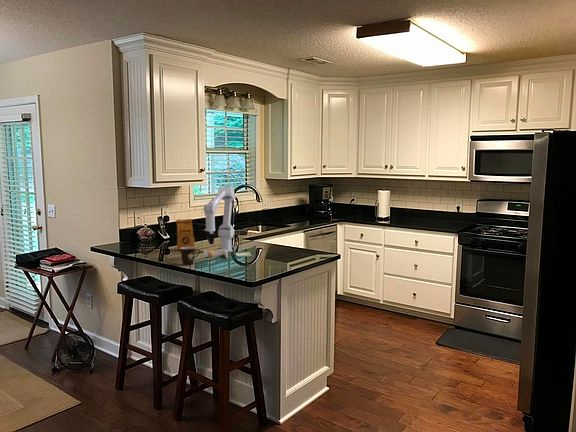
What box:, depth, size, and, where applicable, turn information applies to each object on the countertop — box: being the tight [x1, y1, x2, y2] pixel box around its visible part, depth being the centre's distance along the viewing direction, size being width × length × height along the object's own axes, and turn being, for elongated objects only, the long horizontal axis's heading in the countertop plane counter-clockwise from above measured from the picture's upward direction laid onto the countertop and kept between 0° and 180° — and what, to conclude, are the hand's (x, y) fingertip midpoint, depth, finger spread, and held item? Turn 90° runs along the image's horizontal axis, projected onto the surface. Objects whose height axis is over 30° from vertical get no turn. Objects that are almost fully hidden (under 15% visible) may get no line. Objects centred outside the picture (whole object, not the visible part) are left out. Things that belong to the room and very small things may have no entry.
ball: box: [208, 251, 215, 258], centre depth 305 cm, size 4×4×4 cm
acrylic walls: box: [203, 249, 229, 259], centre depth 305 cm, size 13×14×4 cm
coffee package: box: [175, 218, 196, 251], centre depth 331 cm, size 10×12×22 cm
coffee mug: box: [179, 247, 201, 266], centre depth 284 cm, size 12×9×10 cm
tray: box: [235, 251, 252, 258], centre depth 310 cm, size 9×9×1 cm
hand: (210, 243), depth 304 cm, fingers open, 7 cm apart
